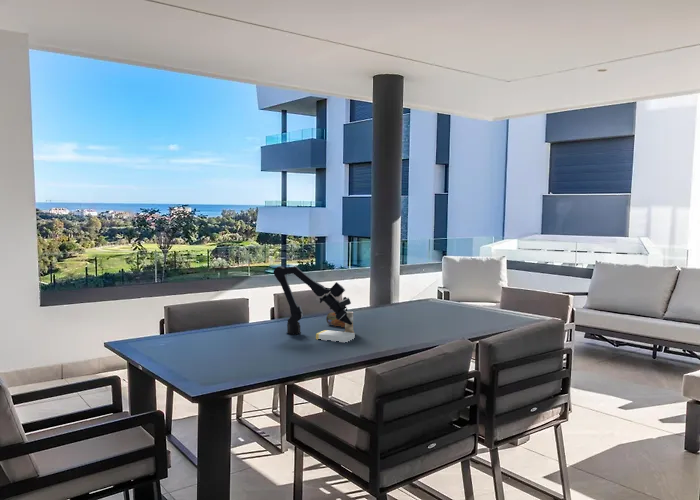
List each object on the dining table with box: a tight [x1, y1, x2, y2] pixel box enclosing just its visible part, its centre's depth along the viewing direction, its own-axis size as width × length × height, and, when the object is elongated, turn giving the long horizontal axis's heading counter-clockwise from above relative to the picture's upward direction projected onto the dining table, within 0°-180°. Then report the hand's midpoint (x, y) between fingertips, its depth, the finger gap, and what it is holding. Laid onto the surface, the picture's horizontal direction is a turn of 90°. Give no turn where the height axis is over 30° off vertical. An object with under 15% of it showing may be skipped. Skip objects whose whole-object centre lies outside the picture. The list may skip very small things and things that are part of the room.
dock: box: [315, 329, 356, 343], centre depth 290 cm, size 18×11×3 cm, turn 67°
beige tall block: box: [343, 311, 355, 333], centre depth 302 cm, size 6×6×12 cm
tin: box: [326, 311, 345, 328], centre depth 324 cm, size 15×3×8 cm, turn 62°
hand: (351, 322), depth 302 cm, fingers open, 9 cm apart
